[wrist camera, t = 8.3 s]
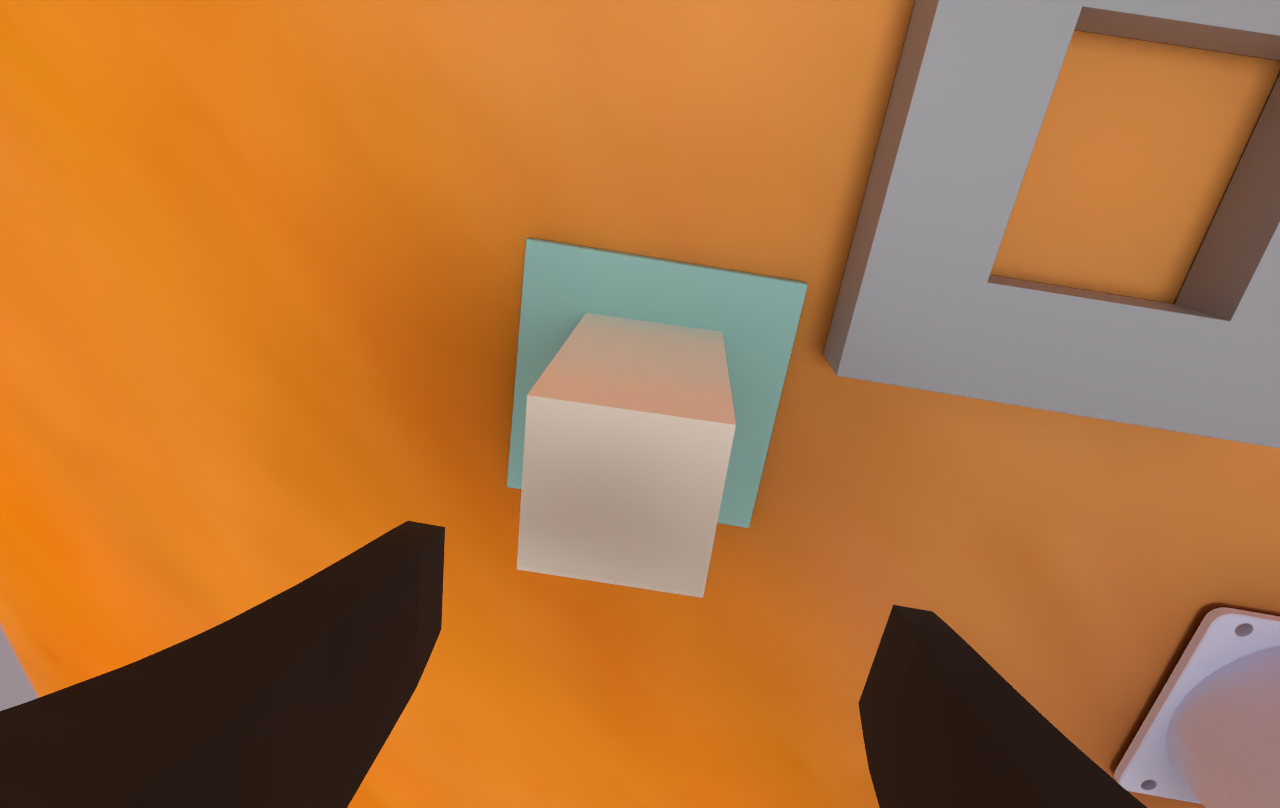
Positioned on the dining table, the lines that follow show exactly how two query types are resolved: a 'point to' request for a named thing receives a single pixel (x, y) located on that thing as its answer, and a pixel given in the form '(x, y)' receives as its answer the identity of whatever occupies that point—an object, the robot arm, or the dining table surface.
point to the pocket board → (980, 210)
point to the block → (627, 456)
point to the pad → (671, 294)
